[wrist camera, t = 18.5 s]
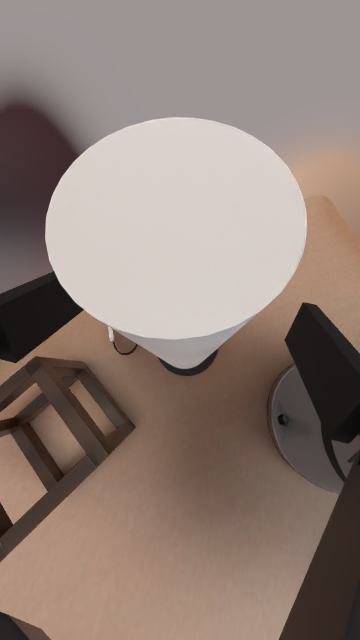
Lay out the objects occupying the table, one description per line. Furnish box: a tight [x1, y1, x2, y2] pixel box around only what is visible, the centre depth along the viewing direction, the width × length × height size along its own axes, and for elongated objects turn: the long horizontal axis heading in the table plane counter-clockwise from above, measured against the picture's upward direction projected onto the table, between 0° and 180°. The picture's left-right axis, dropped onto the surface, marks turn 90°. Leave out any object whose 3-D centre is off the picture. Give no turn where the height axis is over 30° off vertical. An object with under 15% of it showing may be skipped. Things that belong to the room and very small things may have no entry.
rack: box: [0, 356, 136, 562], centre depth 23 cm, size 12×12×10 cm
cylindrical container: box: [45, 117, 307, 369], centre depth 18 cm, size 7×7×25 cm
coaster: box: [158, 349, 218, 376], centre depth 30 cm, size 9×9×1 cm
